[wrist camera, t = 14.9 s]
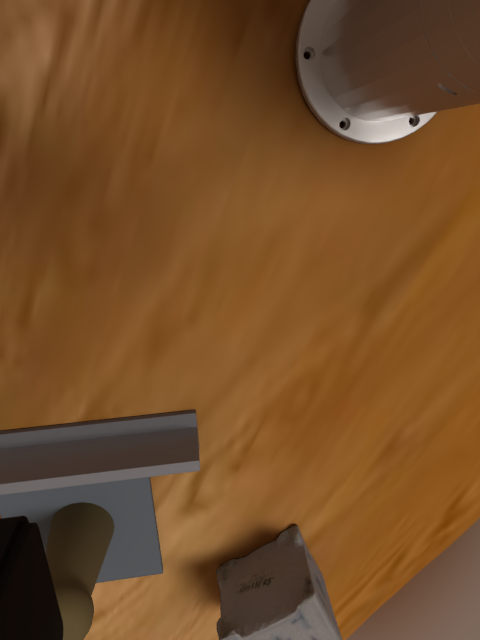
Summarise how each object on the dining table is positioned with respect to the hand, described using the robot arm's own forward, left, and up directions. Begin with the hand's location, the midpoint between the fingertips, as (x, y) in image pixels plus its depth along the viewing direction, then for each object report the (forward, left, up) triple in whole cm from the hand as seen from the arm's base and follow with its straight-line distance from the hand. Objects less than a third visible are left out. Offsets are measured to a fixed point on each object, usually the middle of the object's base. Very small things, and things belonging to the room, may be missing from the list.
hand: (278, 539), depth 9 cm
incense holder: (-4, +34, -31) cm, 46 cm away
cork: (+14, +26, -30) cm, 42 cm away
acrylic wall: (+13, +17, -30) cm, 37 cm away
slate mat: (+14, +26, -30) cm, 42 cm away
